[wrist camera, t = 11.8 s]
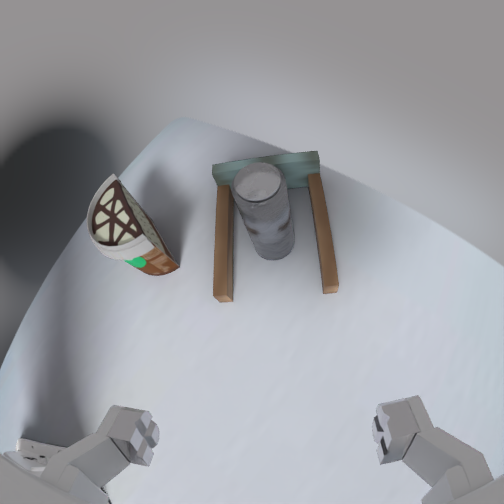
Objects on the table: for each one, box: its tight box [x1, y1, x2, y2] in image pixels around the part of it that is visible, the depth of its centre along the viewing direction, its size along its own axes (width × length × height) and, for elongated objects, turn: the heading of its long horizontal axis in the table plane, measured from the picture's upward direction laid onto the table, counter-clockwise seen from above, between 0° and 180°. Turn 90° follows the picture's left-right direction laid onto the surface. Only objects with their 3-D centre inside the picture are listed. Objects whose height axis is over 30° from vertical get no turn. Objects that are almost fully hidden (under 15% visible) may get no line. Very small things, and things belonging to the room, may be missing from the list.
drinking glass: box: [231, 162, 294, 260], centre depth 29 cm, size 5×5×12 cm
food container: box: [87, 174, 179, 276], centre depth 33 cm, size 12×6×10 cm, turn 35°
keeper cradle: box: [212, 151, 339, 302], centre depth 33 cm, size 13×16×5 cm
